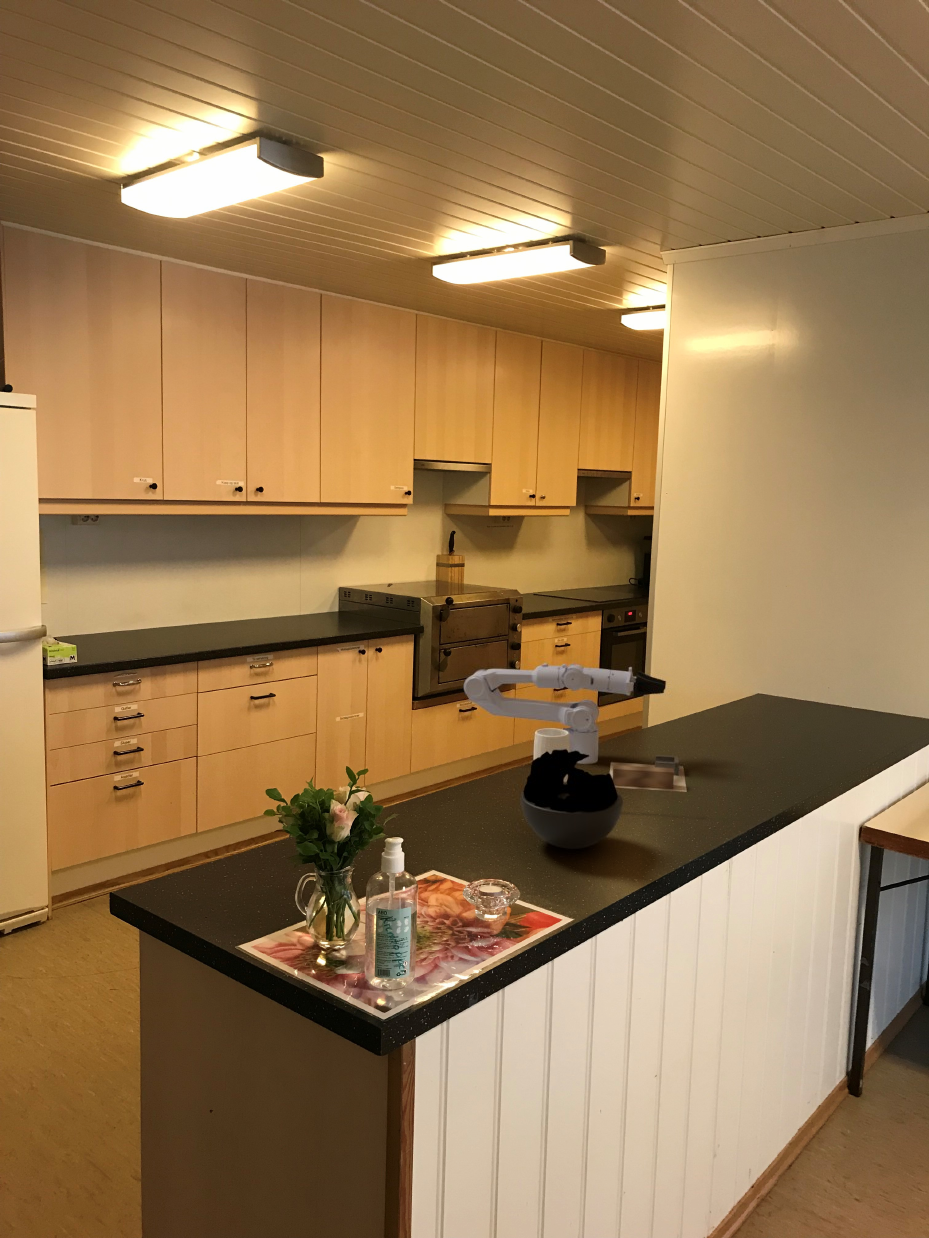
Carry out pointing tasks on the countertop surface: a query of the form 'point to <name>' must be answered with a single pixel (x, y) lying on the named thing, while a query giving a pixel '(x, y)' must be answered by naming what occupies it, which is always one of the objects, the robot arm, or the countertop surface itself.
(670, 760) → the bracket
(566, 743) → the cup
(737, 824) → the countertop surface
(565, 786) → the bowl of black rocks
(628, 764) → the mounting board
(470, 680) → the robot arm
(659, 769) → the rail
